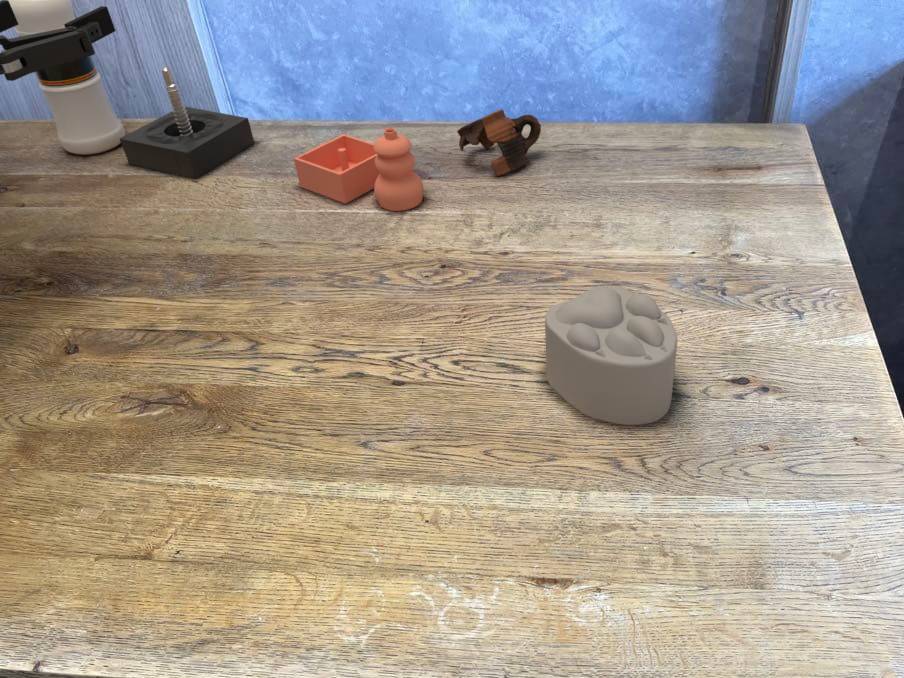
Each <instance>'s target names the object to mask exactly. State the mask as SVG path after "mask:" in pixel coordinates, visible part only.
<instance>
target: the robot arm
mask: <svg viewBox="0 0 904 678" xmlns="http://www.w3.org/2000/svg"><path fill="white" fill-rule="evenodd" d="M16 25H18V22H17V19H16V17H15V15H14V12H13V10H12V8H11V5H10V3H9V1H8V0H0V45H1V46H2V49H3V50H1V51H0V75H4V77H5V79H6V81H11V82H13V81H16V80H19V79H21V78H23V77H25V76H27V75H30V74H32V73H35V72H36V71H40V70H43V69H47V68H50V67H53V66H57V65H60V64H64V63H67V62H70V61H74V60H77V59H81V58H83V59H86V58H88V56H91V57H92V56H93V55H96V52H95V51H96V50H95V49H94V46H93V44H94V43H96V42H98V41H100V40H101V39H104V38H105V37H108V36H109V35H112V34H113V33H115V32H116V28H115V25H114V22H113V19H112V17H111V14H110V11H109V8H108V6H103V5H101V6H99V7H97V8H95V9H93V10H90V11H89V12H87V13H85V14H82V15H81V16H78V17H76V19H74V20H72V21H70V22H68V23H66V24H64V25H65V28H62V29H57V30H51V31H46V32H41V33H36V34H31V35H26V36H21V37H19V36H16V37H11V38H8V37H7V36H5V35H4V34H1V33H4V32H6V31H8V30H9V29H12V28H15V26H16Z"/></svg>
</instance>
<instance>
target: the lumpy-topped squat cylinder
mask: <svg viewBox="0 0 904 678" xmlns="http://www.w3.org/2000/svg"><path fill="white" fill-rule="evenodd" d="M544 334H545V340H544V341H545V342H544V343H545V370H546V371H545V372H546V374H545V375H546V380H547V382H548V384H549V385H550V387H551V388H552V389H553V390H554V391H555V392H556V393H557V394H558V395H559V396H560V397H561V398H562V399H564V401H566V402H567V403H568V404H569V405H571V406H572V407H573V408H575V409H576V410H577V411H578V412H580V413H582V414H583V415H585V416H587V417H590V418H593V419H596V420H598V421H603V422H607V423H611V424H615V425H616V424H617V425H624V426H625V425H628V426H631V425H633V426H635V425H647V424H651V423H655V422H656V421H659V420H660V419H662V418H663V417H665V415H666V414H667V413H668V412H669V409H670V408H671V403H672V397H673V390H674V389H673V388H674V378H675V369H676V360H677V350H678V335H677V331H676V329H675V326H674V324H673V322H672V320H671V318H670V317H669V316H668V315H667V314H666V313H665V312H664V311H662V310H661V309H660V308H659V305H658V303H657V302H656V300H655V299H654V298H653V297H652V296H650V295H648V294H645V293H634V292H632V291H630V290H629V289H626V288H623V287H621V286H617V285H597V286H593V287H591V288H589V289H586V290H585V291H584V292H582V293H581V294H579V295H578V296H575V297H574V298H571V299H568V300H565V301H562V302H559V303H557V304H554V305H553V306H551V307H550V308H549V309H547V311H546V313H545V317H544Z"/></svg>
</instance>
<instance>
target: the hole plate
mask: <svg viewBox="0 0 904 678" xmlns="http://www.w3.org/2000/svg"><path fill="white" fill-rule="evenodd" d="M185 110H186V111H187V112H186V114H188V116H187V118H189V122H190V126H191V127H192V128H191V129H192V130H193V132H192V133H195V134H192V135H188V136H182V137H177V136H179V135H180V134H181V132H180V131H179V130H180V128H178V126H179V125H178V124H177V120H175V119H176V116H174V115H175V113H174V112H173V110H172V111H170V112H168V113H166V114H164V115H162V116H159V118H156V119H154V120H153V121H151V122H149V123H147V124H145V125H143V126H141V127H139V128H137V129H135V130H133V131H132V132H129V133H127V134H125V136H124V137H122V138H120V142H121V143H120V144H121V147H122V149H123V152H124V154H125V157H126V160H127V162H128V164H129V165H130V166H135V167H141V168H144V169H149V170H154V171H158V172H162V173H167V174H172V175H177V176H180V177H185V178H190V179H195V180H196V179H198V178H200V177H201V176H203V175H205V174H206V173H209V172H210V171H212V170H213V169H214V168H216V167H219V166H220V165H221V164H223V163H224V162H227V161H228V160H230V159H231V158H232V157H234V156H236V155H237V154H239V153H240V152H242V151H244V150H246V149H247V148H249V147H251V146H253V145H254V144H255V139H254V136H253V132H252V128H251V125H250V121H249V118H248V117H246V116H245V117H244V116H239V115H235V114H228V113H222V112H217V111H211V110H207V109H200V108H196V107H195V108H194V107H190V106H185Z"/></svg>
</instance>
